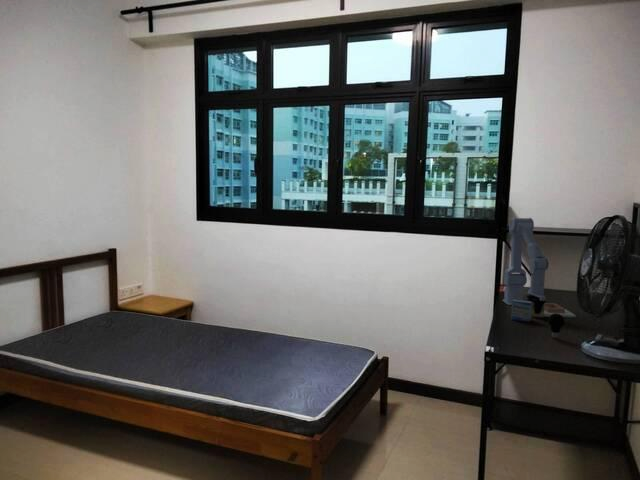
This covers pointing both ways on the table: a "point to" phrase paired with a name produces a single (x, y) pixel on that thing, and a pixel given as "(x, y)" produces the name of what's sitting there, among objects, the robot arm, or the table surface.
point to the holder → (556, 310)
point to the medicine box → (521, 310)
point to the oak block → (537, 314)
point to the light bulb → (556, 324)
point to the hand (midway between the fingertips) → (535, 312)
